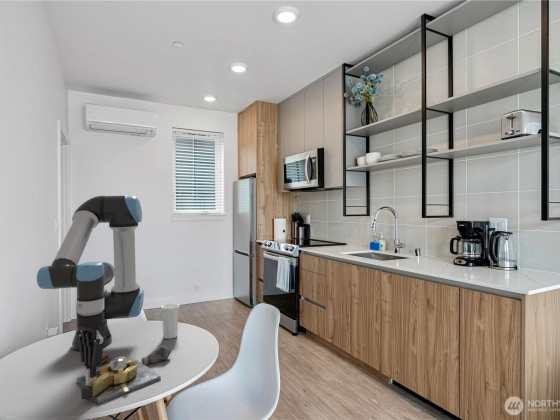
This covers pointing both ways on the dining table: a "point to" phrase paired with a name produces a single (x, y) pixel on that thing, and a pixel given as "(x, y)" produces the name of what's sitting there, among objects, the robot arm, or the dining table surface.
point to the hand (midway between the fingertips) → (91, 386)
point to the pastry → (104, 359)
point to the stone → (157, 355)
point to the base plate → (113, 391)
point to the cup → (170, 320)
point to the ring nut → (109, 379)
